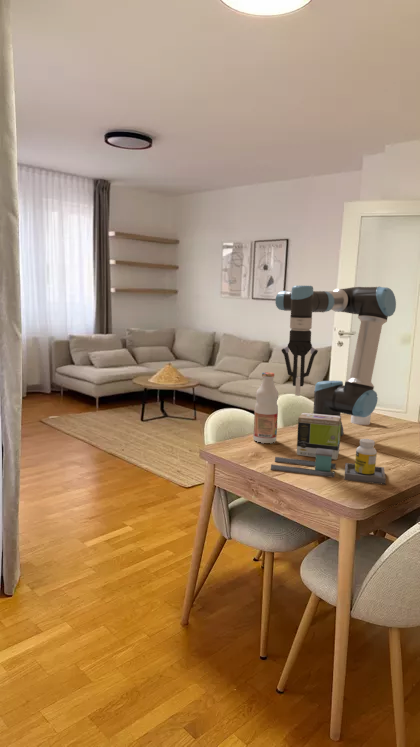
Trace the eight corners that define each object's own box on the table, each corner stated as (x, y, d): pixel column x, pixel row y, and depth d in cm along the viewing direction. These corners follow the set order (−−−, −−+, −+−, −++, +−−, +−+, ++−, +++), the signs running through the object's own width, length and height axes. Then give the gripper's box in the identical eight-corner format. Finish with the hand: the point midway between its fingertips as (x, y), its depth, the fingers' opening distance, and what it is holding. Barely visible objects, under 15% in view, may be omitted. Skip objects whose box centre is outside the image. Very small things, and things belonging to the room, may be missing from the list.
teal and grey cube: (315, 466, 175) (316, 447, 174) (331, 468, 173) (332, 449, 172) (314, 471, 169) (315, 453, 168) (330, 474, 167) (332, 455, 166)
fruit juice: (248, 438, 207) (252, 371, 203) (268, 436, 212) (271, 371, 207) (261, 445, 199) (264, 375, 195) (280, 442, 203) (284, 374, 199)
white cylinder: (351, 424, 239) (353, 399, 237) (349, 419, 248) (351, 395, 246) (371, 425, 238) (373, 400, 236) (368, 421, 246) (370, 397, 245)
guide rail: (275, 460, 180) (275, 456, 180) (335, 467, 175) (335, 463, 175) (270, 469, 171) (271, 465, 171) (334, 477, 165) (334, 473, 165)
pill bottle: (351, 471, 170) (354, 437, 169) (369, 471, 171) (372, 437, 169) (358, 477, 164) (361, 443, 162) (377, 477, 164) (380, 443, 163)
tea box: (339, 453, 192) (342, 415, 190) (337, 460, 183) (339, 421, 181) (299, 448, 197) (302, 411, 195) (295, 455, 188) (298, 416, 185)
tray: (345, 468, 175) (345, 462, 174) (383, 472, 171) (383, 467, 171) (344, 479, 164) (344, 473, 163) (385, 484, 160) (385, 478, 160)
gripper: (280, 329, 176) (278, 395, 180) (318, 331, 173) (315, 398, 177) (283, 328, 183) (281, 391, 187) (319, 329, 180) (316, 394, 184)
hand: (297, 394), depth 182 cm, fingers closed
